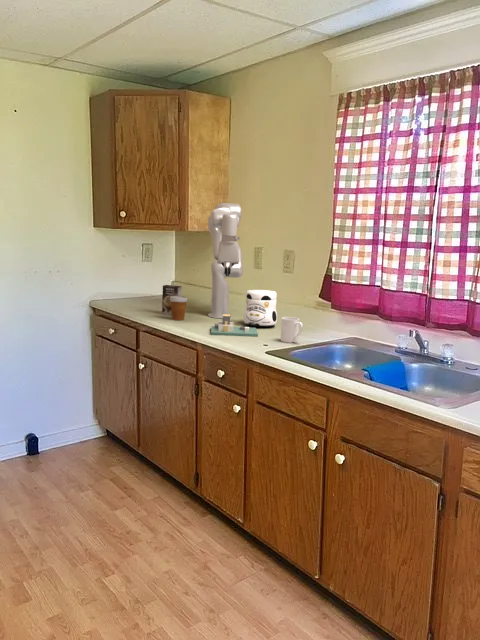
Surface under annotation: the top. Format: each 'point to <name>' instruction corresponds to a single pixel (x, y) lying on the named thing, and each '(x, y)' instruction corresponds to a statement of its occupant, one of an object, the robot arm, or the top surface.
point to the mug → (290, 329)
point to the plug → (226, 319)
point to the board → (232, 330)
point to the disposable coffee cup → (178, 307)
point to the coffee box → (167, 293)
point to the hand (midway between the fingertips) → (227, 275)
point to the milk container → (260, 308)
